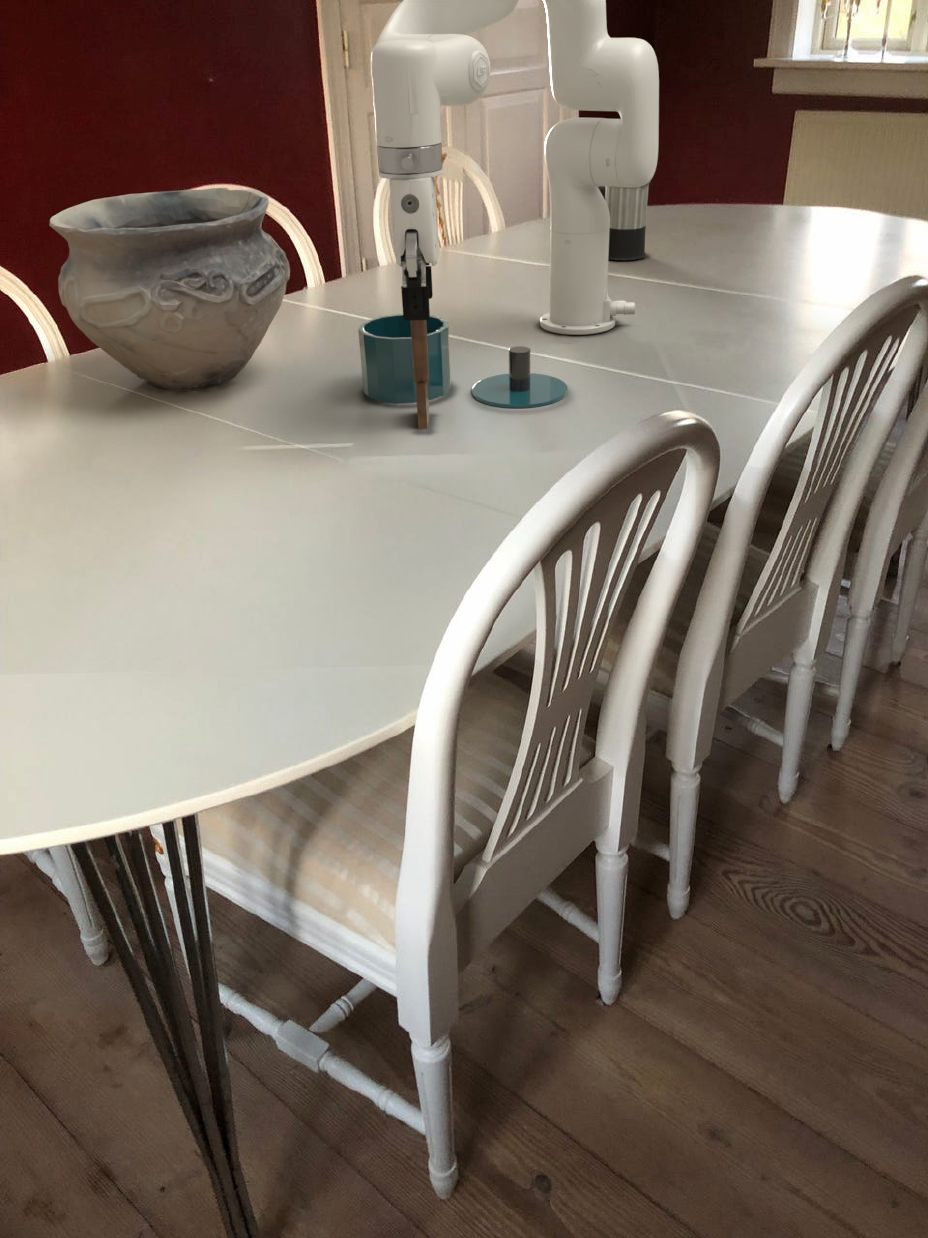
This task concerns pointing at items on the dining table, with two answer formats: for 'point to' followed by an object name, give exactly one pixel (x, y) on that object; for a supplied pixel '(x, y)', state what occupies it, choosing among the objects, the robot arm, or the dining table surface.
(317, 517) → the dining table surface
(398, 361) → the pot
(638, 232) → the milk frother
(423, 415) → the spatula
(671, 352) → the dining table surface
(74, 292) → the clay pot
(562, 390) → the lid
